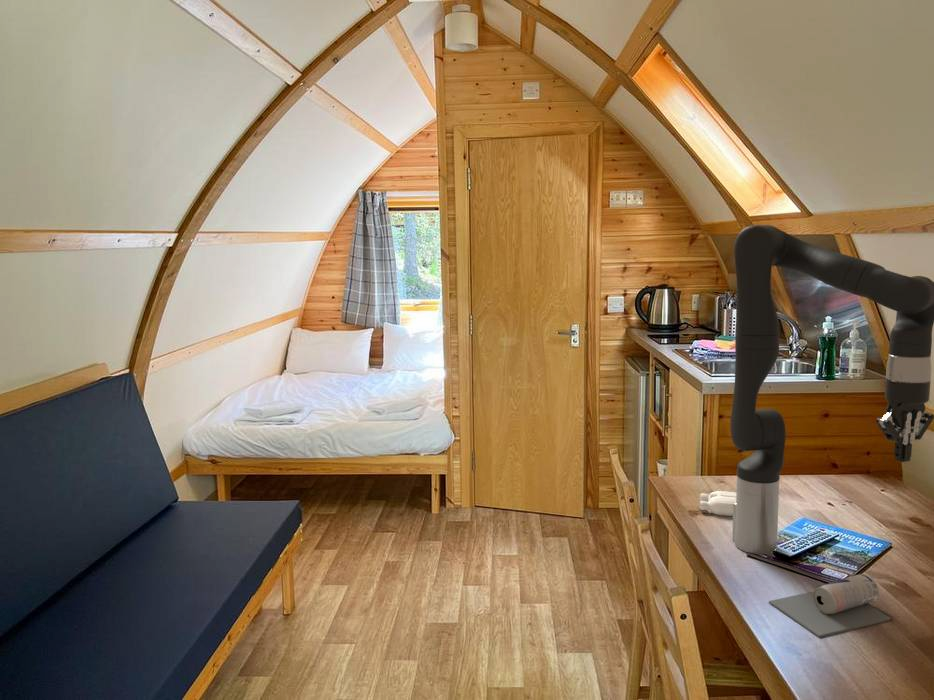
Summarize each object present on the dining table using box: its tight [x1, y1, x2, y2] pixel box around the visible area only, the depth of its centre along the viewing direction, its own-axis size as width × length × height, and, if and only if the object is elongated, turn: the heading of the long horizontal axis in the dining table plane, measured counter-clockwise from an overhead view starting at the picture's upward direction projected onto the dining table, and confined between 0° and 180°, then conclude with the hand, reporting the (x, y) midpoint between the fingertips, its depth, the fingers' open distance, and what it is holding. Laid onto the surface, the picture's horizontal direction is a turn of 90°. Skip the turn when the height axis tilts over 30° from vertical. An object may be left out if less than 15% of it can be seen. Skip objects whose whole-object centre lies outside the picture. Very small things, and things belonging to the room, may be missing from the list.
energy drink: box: [812, 573, 880, 614], centre depth 135 cm, size 5×5×12 cm
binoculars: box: [699, 490, 736, 517], centre depth 185 cm, size 10×16×5 cm, turn 70°
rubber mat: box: [768, 590, 892, 638], centre depth 135 cm, size 13×17×1 cm
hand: (902, 460), depth 140 cm, fingers closed
